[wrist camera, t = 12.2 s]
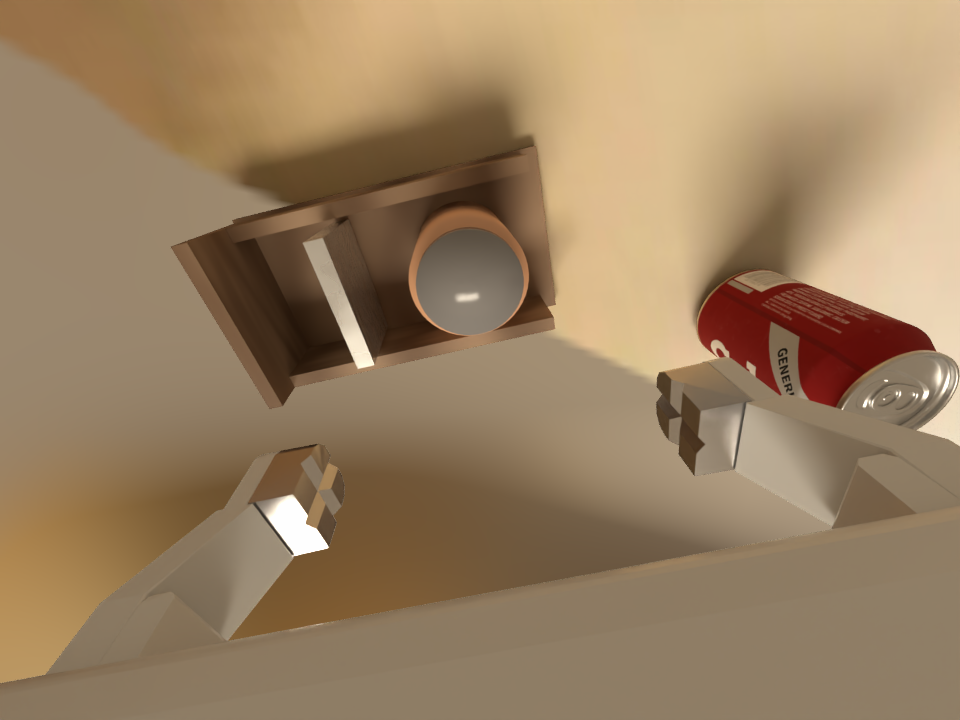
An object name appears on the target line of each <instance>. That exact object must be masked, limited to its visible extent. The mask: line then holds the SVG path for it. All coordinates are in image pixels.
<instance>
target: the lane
mask: <svg viewBox="0 0 960 720" xmlns="http://www.w3.org/2000/svg"><path fill="white" fill-rule="evenodd" d="M456 201H470V202H475V203H478V204H481V205H483V206H485V207H487V208H488V209H490V210H491V211H492V212H494V213H495V214H496V215H497V216H498V218H499V219H500V220H501V221H502V223H503V224H504V225H505V227H506V228H507V229H508V230H509V232H510V233H511V234H512V235H513V237H514V238H515V239H516V241H517V242H518V243H519V245H520V246H521V248H522V250H523V252H524V254H525V257H526V260H527V264H528V270H529V282H528V289H527V292H526V296H525V298H524V300H523V303H522V304H521V306H520V308H519V309H518V311H517V312H516V313H515V315H514V316H513V317H512V318H511V319H510V320H508V321H507V322H506V323H505V324H503V325H502V326H500V327H499V328H497V329H495V330H493V331H490V332H487V333H484V334H480V335H472V336H464V335H456V334H452V333H448V332H446V331H444V330H441V329H439V328H438V327H436V326H434V325H433V324H432V323H430V322H429V321H428V320H427V319H426V318H425V317H424V316H423V315H422V314H421V312H420V311H419V310H418V308H417V307H416V305H415V303H414V301H413V298H412V295H411V292H410V287H409V267H410V263H411V259H412V256H413V252H414V249H415V245H416V242H417V238H418V235H419V232H420V229H421V227H422V225H423V223H424V222H425V220H426V219H427V218H428V216H429V215H430V214H431V213H433V212H434V211H435V210H436V209H438V208H439V207H441V206H443V205H445V204H448V203H451V202H456ZM346 219H349V221H350V223H351V226H352V229H353V231H354V234H355V237H356V240H357V242H358V245H359V248H360V250H361V253H362V256H363V259H364V261H365V264H366V267H367V270H368V272H369V275H370V278H371V280H372V283H373V286H374V289H375V291H376V294H377V297H378V299H379V302H380V305H381V308H382V310H383V313H384V316H385V319H386V321H387V324H388V327H387V330H386V333H385V336H384V339H383V342H382V345H381V348H380V351H379V354H378V357H377V360H376V363H375V365H373V366H368V367H364V368H359V369H358V368H357V366H356V364H355V361H354V359H353V357H352V355H351V352H350V350H349V348H348V345H347V343H346V341H345V339H344V336H343V334H342V332H341V329H340V327H339V325H338V323H337V320H336V318H335V316H334V314H333V312H332V310H331V307H330V305H329V303H328V300H327V298H326V296H325V294H324V291H323V289H322V287H321V284H320V282H319V280H318V278H317V275H316V273H315V271H314V268H313V265H312V263H311V261H310V259H309V256H308V254H307V252H306V249H305V247H304V245H303V242H305V241H306V240H308V239H309V238H311V237H312V236H314V235H315V234H317V233H318V232H320V231H321V230H323V229H324V228H326V227H327V226H329V225H330V224H332V223H334V222H338V221H342V220H346ZM232 221H233V223H234V224H232V225H229V226H227V227H224V228H221V229H218V230H215V231H213V232H210V233H207V234H205V235H202V236H199V237H196V238H194V239H191V240H188V241H185V242H183V243H180V244H177V245H174V246H172V247H171V248H172V249H173V251H174V253H175V255H176V256H177V258H178V260H179V261H180V263H181V265H182V266H183V268H184V269H185V271H186V273H187V274H188V276H189V278H190V279H191V281H192V282H193V284H194V286H195V287H196V289H197V291H198V292H199V294H200V296H201V297H202V299H203V300H204V302H205V304H206V305H207V307H208V309H209V310H210V312H211V314H212V315H213V317H214V319H215V320H216V322H217V324H218V325H219V327H220V328H221V330H222V332H223V333H224V335H225V337H226V338H227V340H228V341H229V343H230V345H231V346H232V348H233V350H234V351H235V353H236V354H237V356H238V358H239V360H240V361H241V363H242V364H243V366H244V368H245V369H246V371H247V373H248V374H249V376H250V378H251V379H252V381H253V383H254V384H255V386H256V387H257V389H258V391H259V392H260V394H261V395H262V397H263V399H264V401H265V402H266V404H267V405H268V407H269V409H272V408H276V407H281V406H283V405H284V403H285V402H286V400H287V398H288V397H289V395H290V394H291V392H292V391H293V389H294V388H295V387H299V386H303V385H308V384H312V383H316V382H321V381H325V380H330V379H334V378H339V377H343V376H348V375H352V374H357V373H361V372H365V371H369V370H374V369H378V368H383V367H388V366H392V365H396V364H401V363H405V362H410V361H414V360H419V359H423V358H428V357H432V356H437V355H441V354H446V353H450V352H455V351H459V350H463V349H468V348H472V347H477V346H481V345H486V344H490V343H495V342H499V341H503V340H508V339H512V338H517V337H521V336H525V335H530V334H534V333H539V332H544V331H548V330H553V329H555V325H554V317H553V315H552V314H551V312H550V311H549V309H548V306H552V305H556V303H555V295H554V287H553V279H552V271H551V263H550V255H549V247H548V239H547V231H546V222H545V214H544V206H543V198H542V190H541V182H540V174H539V166H538V158H537V150H536V146H531V147H527V148H523V149H519V150H515V151H511V152H507V153H503V154H498V155H494V156H490V157H486V158H482V159H478V160H474V161H470V162H466V163H462V164H458V165H454V166H450V167H446V168H441V169H437V170H433V171H429V172H425V173H421V174H417V175H413V176H409V177H405V178H401V179H397V180H393V181H389V182H384V183H380V184H376V185H372V186H368V187H364V188H360V189H356V190H352V191H348V192H344V193H340V194H336V195H332V196H327V197H323V198H319V199H315V200H311V201H307V202H303V203H299V204H295V205H291V206H287V207H283V208H279V209H275V210H271V211H266V212H262V213H258V214H254V215H251V216H246V217H242V218H238V219H235V220H232Z"/></svg>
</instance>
